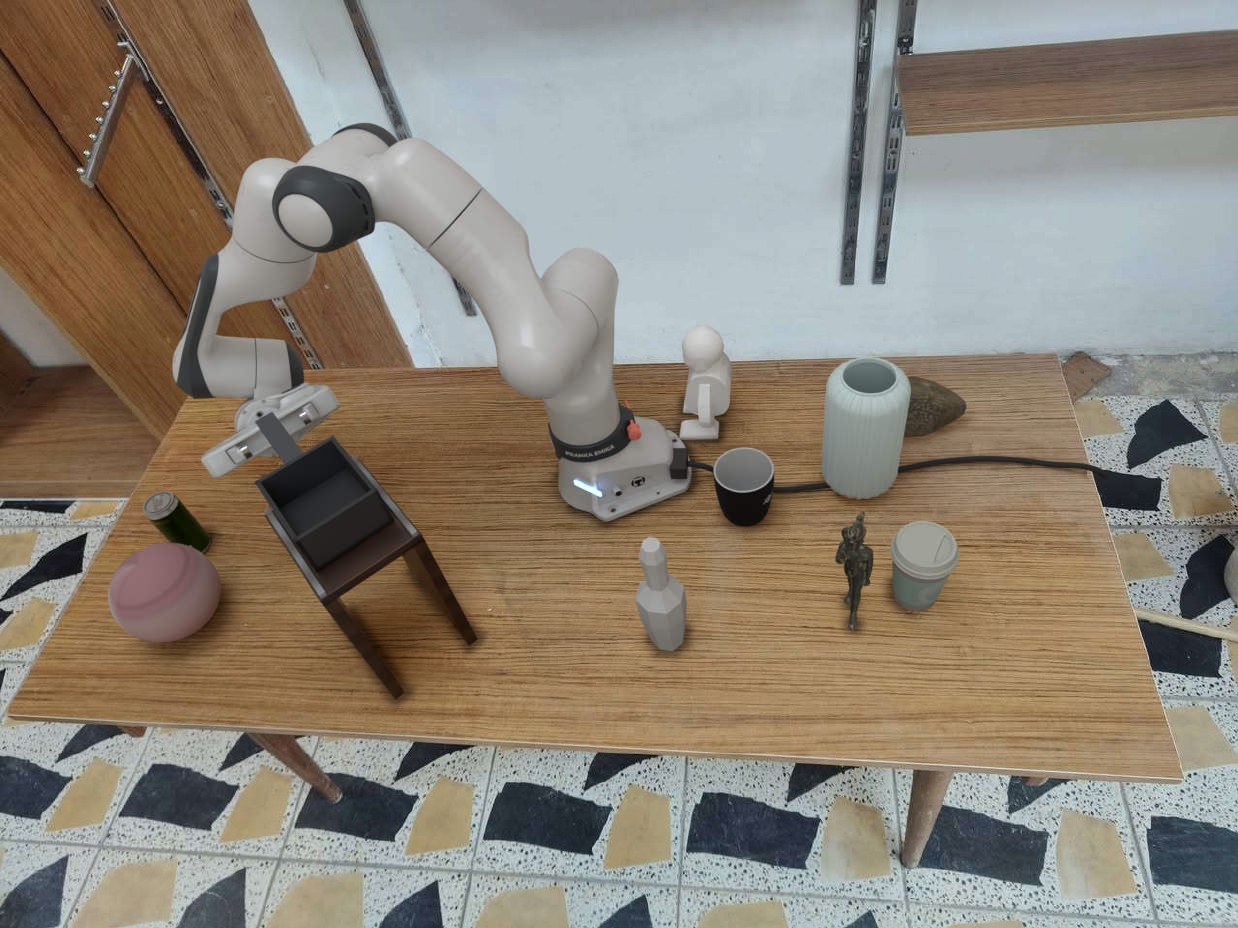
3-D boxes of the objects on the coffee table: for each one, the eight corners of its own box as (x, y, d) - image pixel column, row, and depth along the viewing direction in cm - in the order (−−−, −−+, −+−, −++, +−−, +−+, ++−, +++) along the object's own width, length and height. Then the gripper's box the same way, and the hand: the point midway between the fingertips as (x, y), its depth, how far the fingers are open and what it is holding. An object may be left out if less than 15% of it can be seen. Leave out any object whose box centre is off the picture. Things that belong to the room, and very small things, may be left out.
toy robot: (685, 391, 148) (675, 302, 133) (735, 391, 146) (730, 301, 132) (677, 448, 139) (666, 359, 125) (730, 448, 137) (725, 359, 123)
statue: (828, 632, 112) (835, 547, 98) (832, 593, 116) (840, 506, 102) (863, 638, 111) (876, 552, 96) (866, 598, 115) (880, 511, 100)
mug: (770, 537, 124) (769, 495, 117) (712, 530, 127) (708, 488, 119) (780, 478, 132) (780, 435, 124) (725, 472, 134) (722, 430, 127)
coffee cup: (911, 630, 111) (922, 581, 102) (870, 586, 116) (877, 535, 107) (960, 601, 113) (976, 551, 104) (918, 558, 118) (929, 507, 109)
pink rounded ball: (143, 602, 133) (86, 548, 122) (233, 564, 136) (186, 508, 125) (145, 676, 124) (84, 625, 113) (243, 634, 126) (192, 580, 115)
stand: (478, 639, 120) (419, 529, 100) (395, 699, 115) (316, 597, 95) (419, 566, 130) (356, 453, 111) (342, 618, 126) (261, 511, 106)
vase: (812, 498, 128) (818, 396, 112) (829, 446, 135) (836, 342, 118) (888, 514, 124) (905, 410, 108) (901, 459, 131) (919, 354, 114)
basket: (394, 520, 102) (377, 489, 98) (316, 571, 98) (294, 542, 94) (317, 425, 116) (299, 395, 112) (246, 467, 113) (224, 437, 108)
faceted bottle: (676, 663, 112) (660, 574, 96) (637, 644, 115) (615, 554, 99) (698, 627, 116) (686, 535, 100) (660, 610, 119) (641, 517, 102)
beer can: (212, 552, 139) (174, 508, 130) (181, 563, 138) (140, 520, 129) (212, 529, 142) (175, 485, 133) (181, 540, 141) (142, 496, 133)
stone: (951, 398, 138) (959, 363, 132) (969, 436, 132) (978, 400, 126) (850, 412, 139) (853, 377, 133) (863, 449, 133) (867, 415, 127)
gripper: (191, 446, 120) (190, 456, 108) (315, 376, 127) (328, 378, 115) (216, 481, 122) (219, 495, 110) (337, 410, 129) (353, 416, 117)
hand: (276, 435), depth 113 cm, fingers open, 8 cm apart
